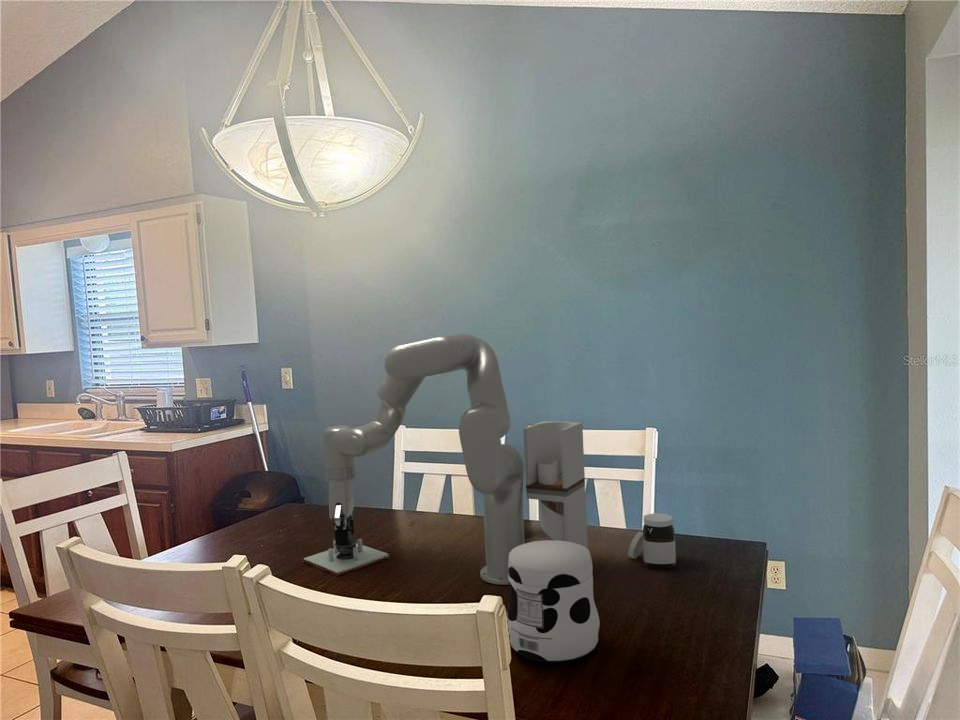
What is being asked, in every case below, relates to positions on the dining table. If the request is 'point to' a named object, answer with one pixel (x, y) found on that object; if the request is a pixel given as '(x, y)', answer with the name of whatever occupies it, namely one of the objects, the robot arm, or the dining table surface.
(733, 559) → the dining table surface
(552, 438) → the open shelf unit
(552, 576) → the milk container
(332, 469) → the robot arm
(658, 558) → the spread jar
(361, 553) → the pin tray
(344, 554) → the salt shaker
